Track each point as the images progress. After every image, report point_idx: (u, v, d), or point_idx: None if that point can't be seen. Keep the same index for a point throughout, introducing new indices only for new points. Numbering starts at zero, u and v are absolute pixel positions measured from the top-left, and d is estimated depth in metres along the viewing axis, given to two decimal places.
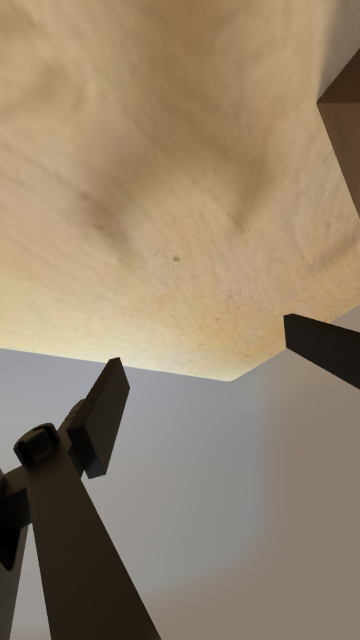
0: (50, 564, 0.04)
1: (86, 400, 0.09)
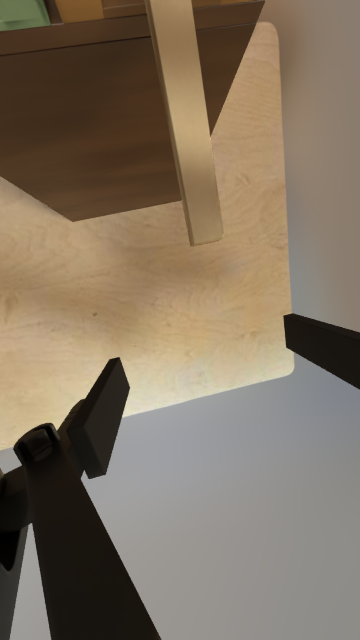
0: (50, 564, 0.04)
1: (86, 400, 0.09)
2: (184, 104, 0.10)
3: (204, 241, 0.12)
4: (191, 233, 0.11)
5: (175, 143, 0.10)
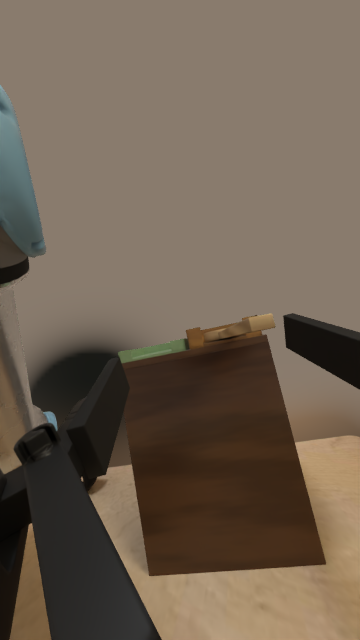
0: (50, 564, 0.04)
1: (86, 400, 0.09)
2: None
3: (256, 317, 0.15)
4: (246, 321, 0.16)
5: (233, 325, 0.20)
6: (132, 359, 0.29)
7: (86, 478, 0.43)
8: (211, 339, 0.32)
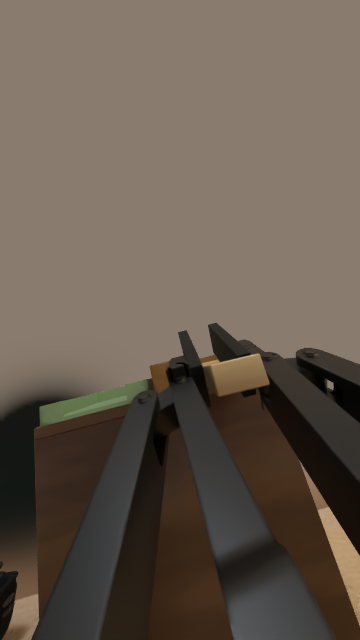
0: (191, 448, 0.06)
1: (186, 354, 0.12)
2: None
3: (228, 362, 0.07)
4: (209, 369, 0.08)
5: None
6: (62, 418, 0.18)
7: None
8: None
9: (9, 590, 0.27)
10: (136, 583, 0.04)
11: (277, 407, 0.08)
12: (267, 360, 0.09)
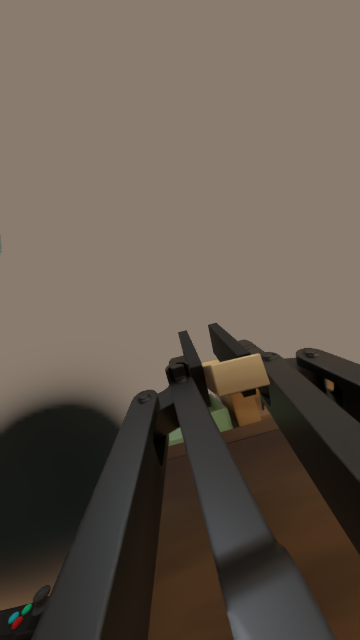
0: (191, 448, 0.06)
1: (186, 354, 0.12)
2: None
3: (228, 362, 0.07)
4: (209, 369, 0.08)
5: None
6: None
7: None
8: None
9: None
10: (136, 583, 0.04)
11: (277, 407, 0.08)
12: (267, 360, 0.09)
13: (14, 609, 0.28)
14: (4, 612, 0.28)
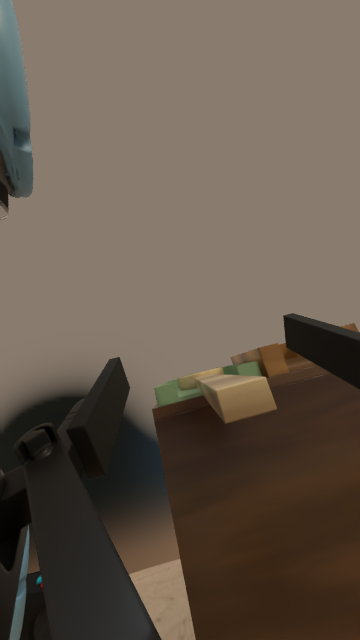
0: (50, 564, 0.04)
1: (86, 400, 0.09)
2: (211, 378, 0.14)
3: (233, 387, 0.07)
4: (214, 393, 0.07)
5: (203, 384, 0.12)
6: (179, 398, 0.18)
7: None
8: (186, 388, 0.23)
9: None
10: None
11: None
12: None
13: None
14: (31, 575, 0.29)
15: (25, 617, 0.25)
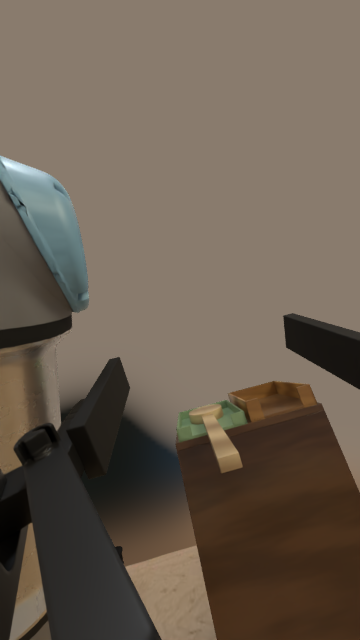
0: (50, 564, 0.04)
1: (86, 400, 0.09)
2: (214, 432, 0.23)
3: (224, 456, 0.17)
4: (216, 457, 0.17)
5: (210, 439, 0.22)
6: (192, 436, 0.28)
7: None
8: (196, 423, 0.33)
9: None
10: None
11: None
12: None
13: None
14: None
15: None
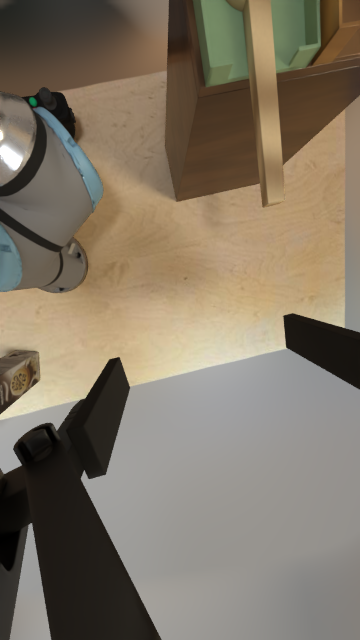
0: (50, 564, 0.04)
1: (86, 400, 0.09)
2: (268, 126, 0.18)
3: (273, 202, 0.20)
4: (266, 197, 0.20)
5: (262, 146, 0.19)
6: (227, 80, 0.18)
7: (69, 132, 0.38)
8: None
9: None
10: None
11: None
12: None
13: None
14: None
15: None
